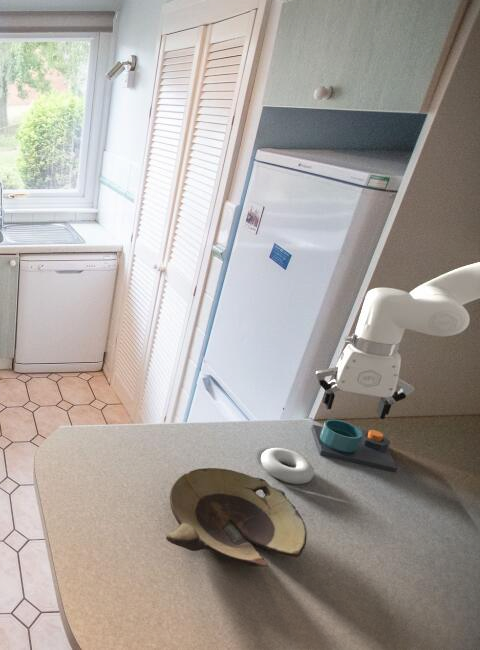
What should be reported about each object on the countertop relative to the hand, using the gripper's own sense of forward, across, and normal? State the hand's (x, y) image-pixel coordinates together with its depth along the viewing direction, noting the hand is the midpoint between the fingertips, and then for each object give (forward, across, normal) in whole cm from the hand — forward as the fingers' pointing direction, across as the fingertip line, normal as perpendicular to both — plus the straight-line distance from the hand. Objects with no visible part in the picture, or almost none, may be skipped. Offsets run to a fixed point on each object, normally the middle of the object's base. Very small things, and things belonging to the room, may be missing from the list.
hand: (353, 410), depth 105 cm
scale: (+11, +2, +1) cm, 11 cm away
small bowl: (+10, -1, 0) cm, 10 cm away
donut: (+11, -13, -14) cm, 22 cm away
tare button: (+9, +7, +4) cm, 12 cm away
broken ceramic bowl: (+11, -27, -38) cm, 48 cm away
